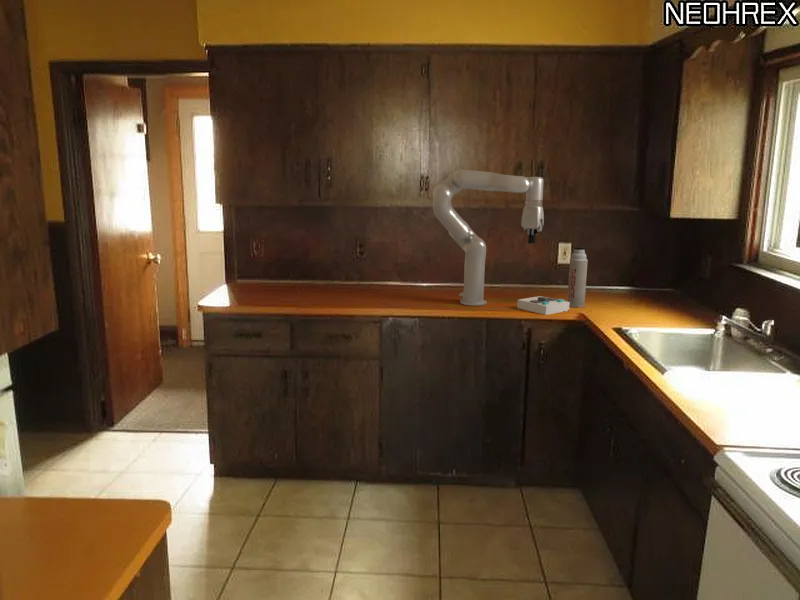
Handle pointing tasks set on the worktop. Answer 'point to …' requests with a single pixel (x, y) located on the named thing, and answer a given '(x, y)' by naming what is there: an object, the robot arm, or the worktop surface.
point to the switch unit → (543, 306)
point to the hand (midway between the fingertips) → (531, 243)
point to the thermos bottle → (577, 278)
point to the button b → (543, 299)
